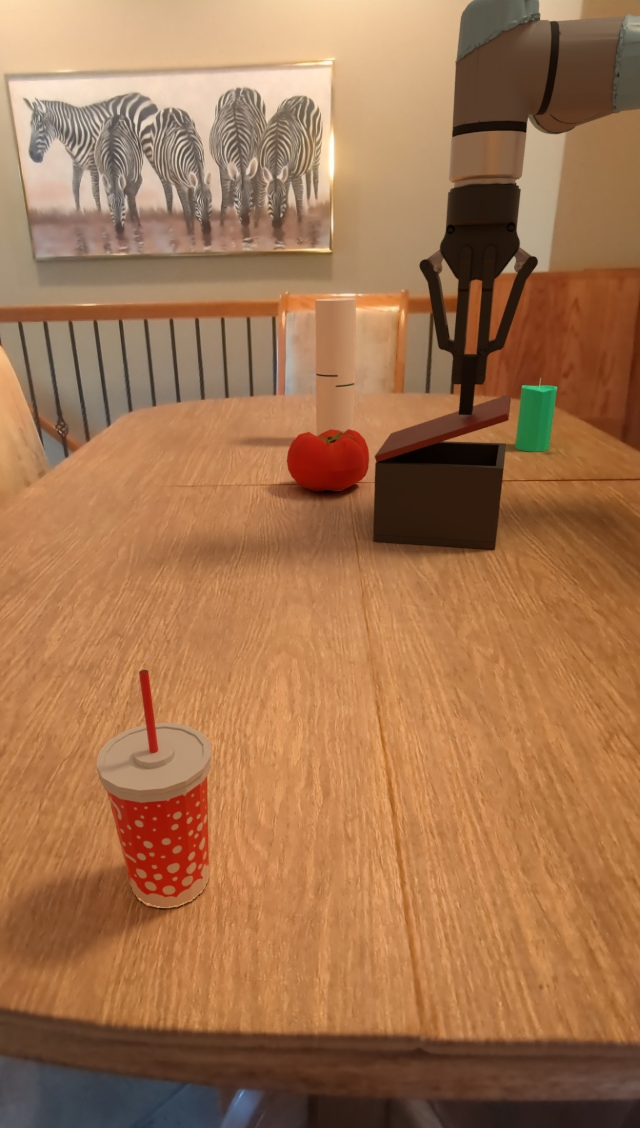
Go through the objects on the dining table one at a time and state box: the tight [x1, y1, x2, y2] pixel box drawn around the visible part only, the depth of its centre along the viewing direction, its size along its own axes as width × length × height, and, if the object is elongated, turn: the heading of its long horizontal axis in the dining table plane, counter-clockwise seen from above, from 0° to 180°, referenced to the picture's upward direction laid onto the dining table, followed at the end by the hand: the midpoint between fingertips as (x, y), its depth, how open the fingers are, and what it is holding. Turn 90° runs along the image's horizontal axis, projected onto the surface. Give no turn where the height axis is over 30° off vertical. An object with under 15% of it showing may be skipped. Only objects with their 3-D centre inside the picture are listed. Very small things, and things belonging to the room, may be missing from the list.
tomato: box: [286, 429, 370, 493], centre depth 114 cm, size 13×12×8 cm
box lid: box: [374, 394, 512, 463], centre depth 92 cm, size 16×13×1 cm
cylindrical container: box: [314, 297, 357, 436], centre depth 139 cm, size 7×7×25 cm
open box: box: [372, 440, 507, 551], centre depth 96 cm, size 15×13×10 cm
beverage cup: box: [95, 669, 212, 907], centre depth 41 cm, size 6×6×14 cm
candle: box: [514, 377, 558, 453], centre depth 133 cm, size 6×6×12 cm
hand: (465, 412), depth 91 cm, fingers closed
